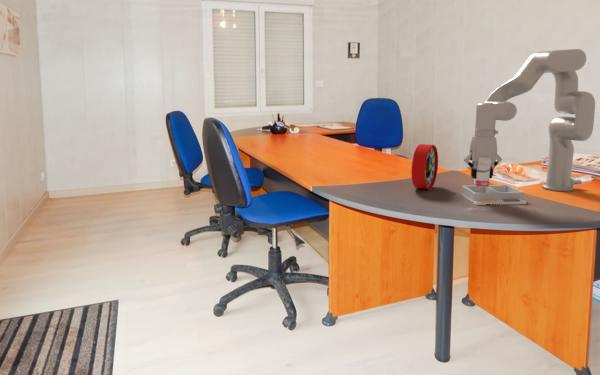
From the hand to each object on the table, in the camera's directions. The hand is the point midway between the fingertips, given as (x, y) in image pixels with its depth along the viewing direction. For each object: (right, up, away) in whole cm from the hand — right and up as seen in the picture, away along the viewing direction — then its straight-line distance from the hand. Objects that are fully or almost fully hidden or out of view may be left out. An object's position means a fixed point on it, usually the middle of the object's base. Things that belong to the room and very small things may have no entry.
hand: (481, 177), depth 203 cm
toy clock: (-18, -5, +22) cm, 29 cm away
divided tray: (+5, -9, +1) cm, 10 cm away
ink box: (0, -3, +1) cm, 3 cm away
